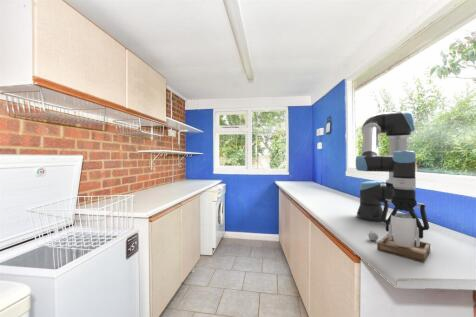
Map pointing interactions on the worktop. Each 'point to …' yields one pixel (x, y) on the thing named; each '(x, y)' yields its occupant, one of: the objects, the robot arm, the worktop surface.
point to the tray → (404, 249)
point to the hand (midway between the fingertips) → (403, 242)
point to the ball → (373, 236)
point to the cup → (403, 229)
